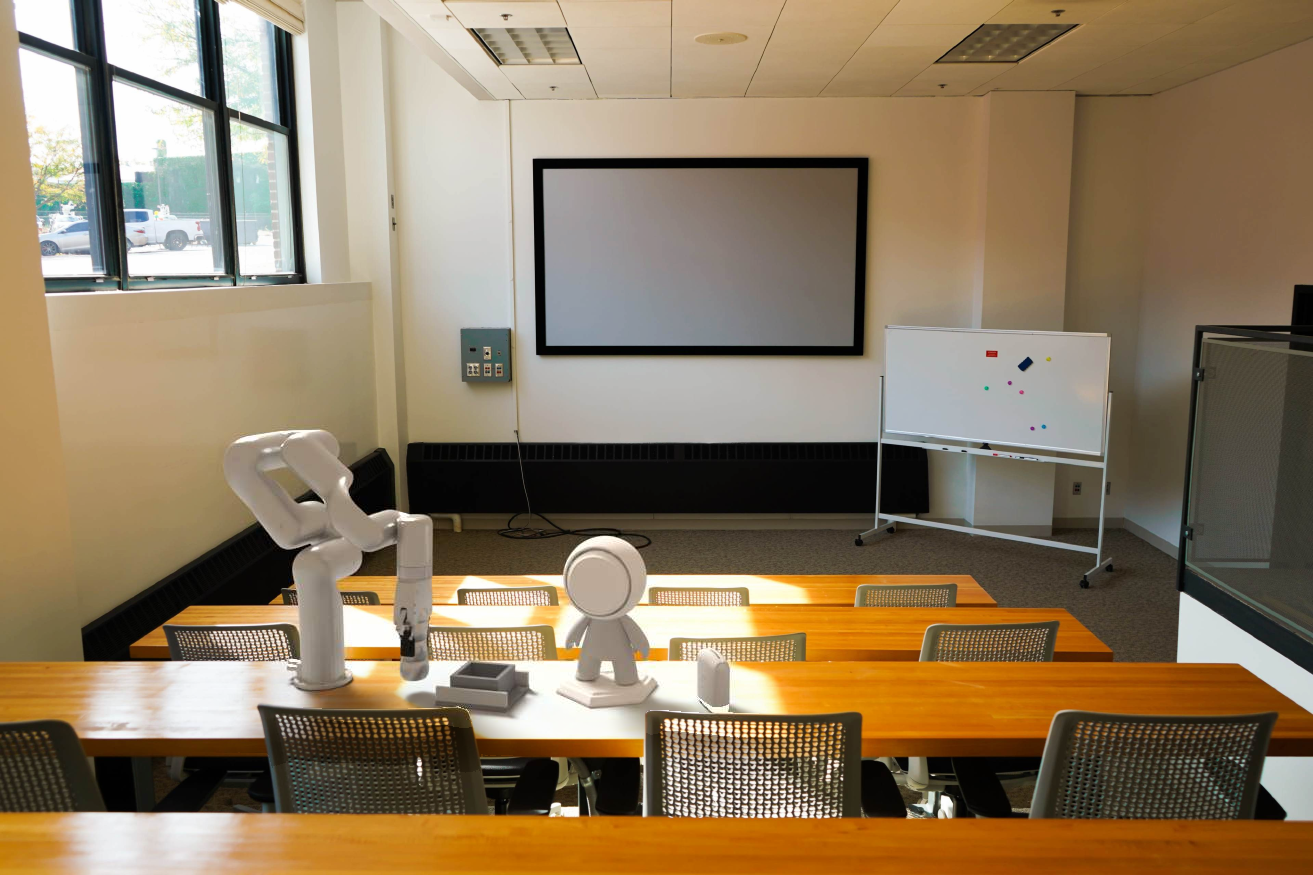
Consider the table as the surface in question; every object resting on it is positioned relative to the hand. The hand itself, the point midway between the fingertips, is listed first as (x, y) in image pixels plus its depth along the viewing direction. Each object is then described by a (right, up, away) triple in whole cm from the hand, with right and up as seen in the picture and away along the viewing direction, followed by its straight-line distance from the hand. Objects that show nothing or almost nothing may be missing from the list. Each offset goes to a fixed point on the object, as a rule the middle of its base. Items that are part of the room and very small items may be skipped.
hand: (414, 650), depth 214 cm
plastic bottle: (0, -7, +1) cm, 7 cm away
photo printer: (+65, -11, -6) cm, 67 cm away
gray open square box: (+15, -10, -2) cm, 18 cm away
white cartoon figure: (+42, -10, +4) cm, 44 cm away
